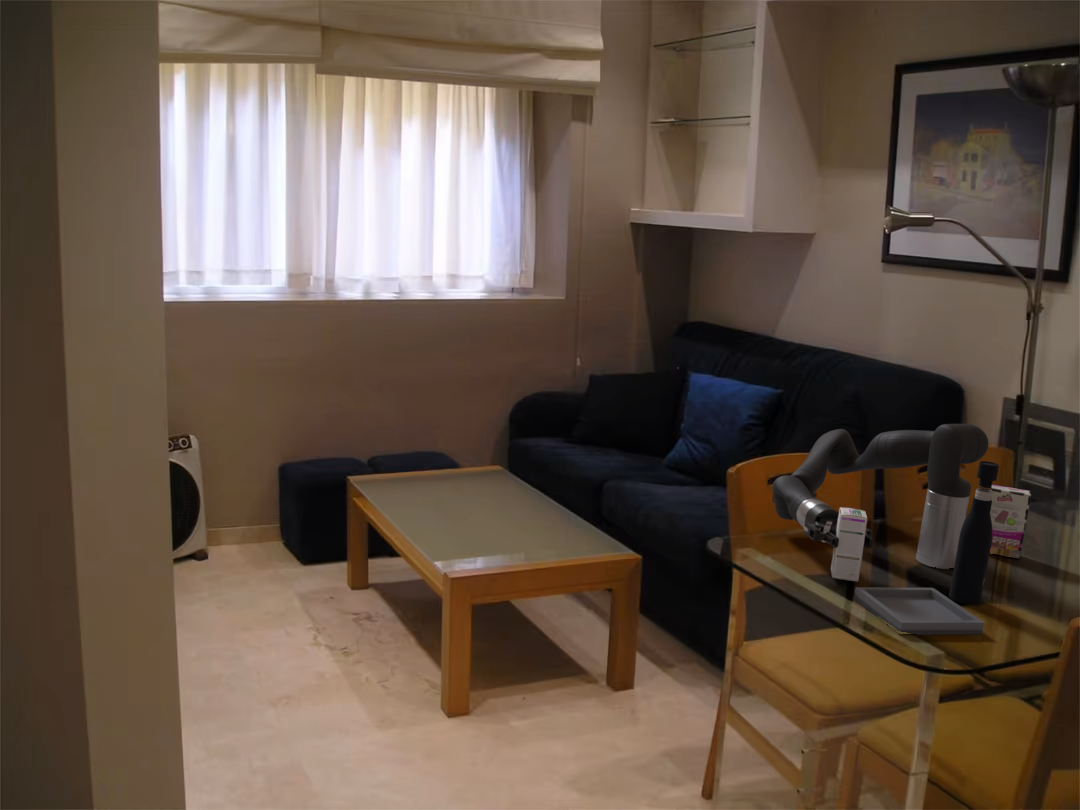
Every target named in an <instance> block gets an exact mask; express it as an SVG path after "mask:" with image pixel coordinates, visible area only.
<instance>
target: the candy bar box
mask: <svg viewBox="0 0 1080 810" xmlns="http://www.w3.org/2000/svg"><path fill="white" fill-rule="evenodd" d="M990 491H992V495H991V497H992V498H991V500H992V505H991V511H990V516H991V522H992V543H991V547H992V548H997V549H998V548H999V549H1009V550H1017V551H1021V552H1022V549H1023V544H1024V538H1025V532H1026V526H1027V520H1028V516H1029V511H1030V509H1029V508H1030V504H1031V503H1030V502H1031V499H1032V498H1031V497H1032V494H1031V493H1032V492H1031V490H1026V489H1019V488H1015V487H1009V486H1003V485H997V484H992V489H991V490H990Z"/></svg>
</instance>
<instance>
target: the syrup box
mask: <svg viewBox="0 0 1080 810" xmlns="http://www.w3.org/2000/svg"><path fill="white" fill-rule="evenodd" d="M838 512H839V515H838V522H837V529H836V537H838V538H839V542H838V547H837V548H834V547H833V550H832V551H833V552H832V556H831V557H832V559H831V564H830V572H831V578H834V579H837V580H845V581H850V582H851V581H852V582H857V583H858V582H859V577H860V573H861V566H862V559H863V554H864V553H863V552H864V547H865V546H864V539H865V532H866V528H867V523H868V516H867V513H866V511H865V510H862V509H859V508H852V507H842V506H840V507H839V508H838Z"/></svg>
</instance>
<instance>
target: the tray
mask: <svg viewBox="0 0 1080 810" xmlns="http://www.w3.org/2000/svg"><path fill="white" fill-rule="evenodd" d="M853 599H854V600H855V601H856V602H858V603H859V604H860V605H861V606H863V607H864V608H865V609H866V610H867V611H869V612H870V611H871V612H872V613H871V612H870V613H871V614H873V613H874V614H875V615H877V616H879V617H880V618H881V619H883V620H884V621H886V622H887V623H889V624H890V625H892V626H893V627H895V628H896V629H897V630H898V631H901V632H907V633H911V634H916V635H915V636H920V635H921V636H930V635H931V636H933V635H934V636H935V635H937V636H938V635H939V636H945V635H946V636H947V635H948V636H950V635H951V636H956V635H958V636H959V635H960V636H961V635H963V636H965V635H967V636H969V635H971V636H973V635H978V636H979V635H983V631H984V625H985V622H984V621H982V620H981V619H979V618H978V617H977V616H975V615H974V614H972V613H971V612H970V611H968V610H967V609H966V608H963V607H962V606H961V605H959V604H957V603H956V601H954V600H952V599H951V598H950V597H947V596H946V595H944V594H943V593H942V592H940V591H939V590H937V589H936V588H935V587H882V586H881V587H876V586H873V587H872V586H869V587H866V586H865V587H864V586H863V587H861V586H857V587H855V590H854V596H853ZM874 614H873V615H874ZM875 615H874V616H875Z"/></svg>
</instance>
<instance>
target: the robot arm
mask: <svg viewBox="0 0 1080 810" xmlns="http://www.w3.org/2000/svg"><path fill="white" fill-rule="evenodd" d="M988 449H989V437H988V436H987V434H986V433H985V432H984V430H983V429H982V428H980V427H979V426H976V425H974V424H970V423H945V424H941V425H939V426H938V427H937V428H936V429H934V430H920V429H919V430H916V429H903V430H902V429H901V430H899V429H898V430H889V431H888V430H887V431H885V432H884V431H883V432H881V433H879V434H877V435H876V436H874V438H872V440H871V441H870V442H869V444H868V446H867V447H866V449H865V450H864V451H863V453H862V454H860V453H858V450H857V448H856V445H855V443H854V441H853V439H852V435H851V434H850V432H848V431H847V430H846V429H844V428H837V429H833V430H830V431H827V432H825V433H824V434H822V435H821V436H820V437H819V438H818V439H817V440H816V441H815V443H814V445H813V446H812V448H811V449H810V451H809V452H808V454H807V456H806V458H805V460H804V461H803V463H802V464H801V465H800V466H799V467H797V468H796V470H795V471H793V472H792V473H791V474H790V475H788V474H787V475H782V476H779V477H777V478H776V479H775V480H774V481H773V483H772V485H771V486H772V488H771V489H772V495H773V501H774V502H773V503H774V507H775V512H776V514H777V516H778V517H780V519H783V520H787V521H792V520H794V521H795V522H797V523H798V524H800V526H801V527H802V528H803V535H805V536H806V537H808V538H809V539H811V541H813V542H819V540H820V541H821V542H822V543H827V544H828V545H829V546H831V547H832V548H833V549H834V548H837V547H838V542H839V538H838V537H836V529H837V522H838V515H839V511H837V510H836V509H835V508H833V507H831V506H830V505H829V504H827V503H825V502H824V501H822V500H819V499H817V498H816V497H815V496H813V495H814V493H815V492H817V490H818V489H820V488H821V486H822V485H823V483H824V482H825V479H826V477H827V473H829V472H830V473H829V474H831V475H843V474H849V473H854V472H855V473H856V472H861V471H867V470H881V469H883V470H884V469H904V468H905V469H906V468H911V467H918V466H924V465H927V467H926V468H927V469H926V470H927V471H926V474H927V475H926V476H927V481H928V482H927V483H928V485H927V492H926V496H925V502H924V508H923V515H922V519H921V520H922V521H921V525H920V532H919V538H918V544H917V549H916V556H915V560H916V561H917V562H919V563H920V564H922V565H925V566H928V567H932V568H935V567H936V569H942V570H950V569H949V568H954V564H955V559H956V553H957V548H958V542H959V537H960V531H961V528H962V526H963V523H964V521H965V519H966V517H967V515H968V514H967V513H968V509H969V501H970V497H971V493H972V492H971V491H972V485H971V483H970V481H968V480H967V479H965V478H962V477H961V476H960V472H961V465H968V464H969V465H970V464H974V463H976V462H978V461H981V459H983V457H984V456H985V455H986V454H987V451H988ZM827 469H828V471H829V472H828V471H827ZM872 535H873V530H871V529H870V528H868V527H866V532H865V539H864V546H863V547H866V549H872V547H873V545H874V538H872Z"/></svg>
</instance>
